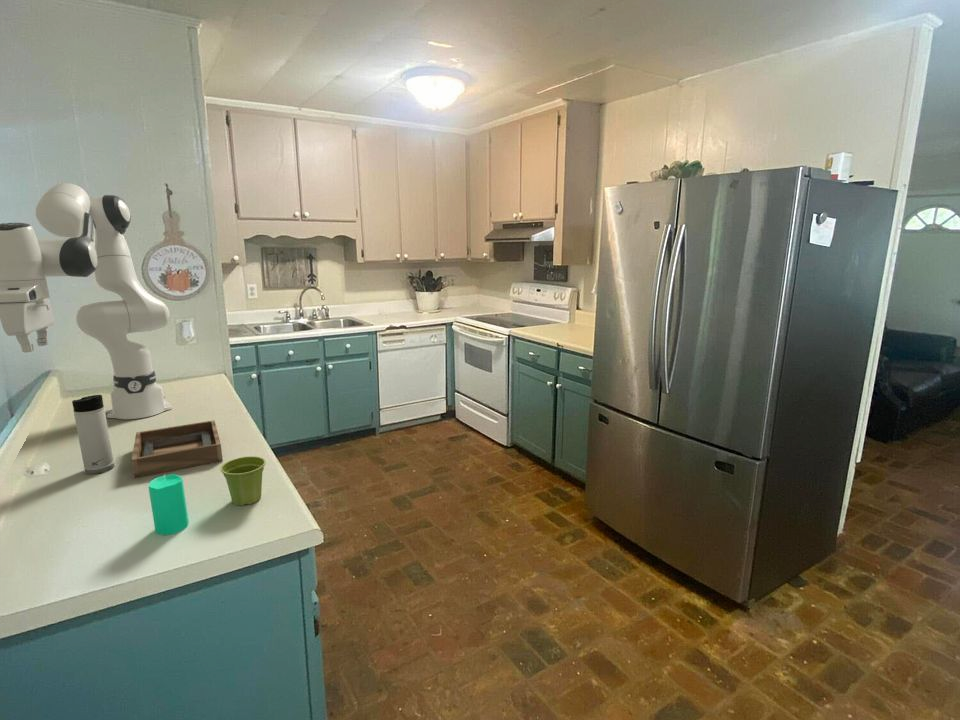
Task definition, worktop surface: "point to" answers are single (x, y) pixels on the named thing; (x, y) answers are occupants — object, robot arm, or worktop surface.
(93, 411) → the travel mug
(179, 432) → the open box
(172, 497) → the candle
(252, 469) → the plant pot
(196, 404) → the worktop surface
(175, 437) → the plate
